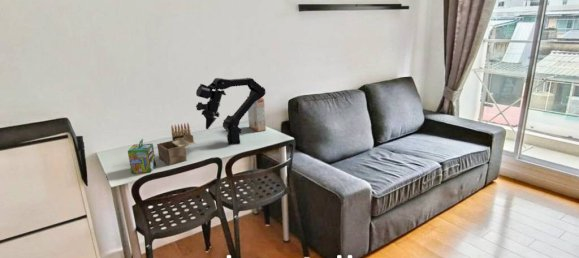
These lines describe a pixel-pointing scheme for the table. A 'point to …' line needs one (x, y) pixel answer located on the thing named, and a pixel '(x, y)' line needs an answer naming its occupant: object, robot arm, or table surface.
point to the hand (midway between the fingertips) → (206, 129)
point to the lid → (184, 140)
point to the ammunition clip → (180, 131)
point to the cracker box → (257, 115)
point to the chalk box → (141, 158)
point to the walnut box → (171, 153)
